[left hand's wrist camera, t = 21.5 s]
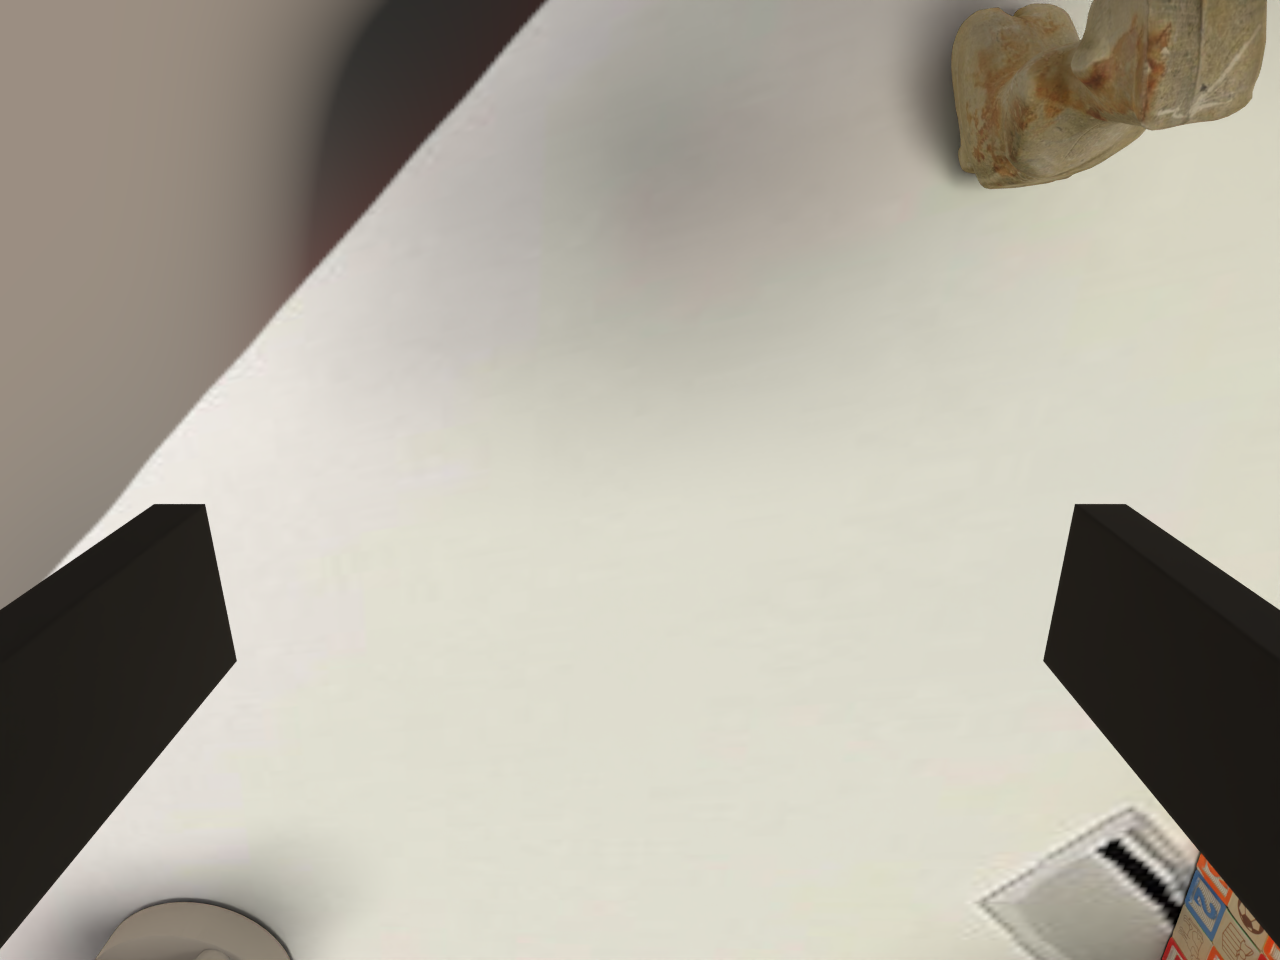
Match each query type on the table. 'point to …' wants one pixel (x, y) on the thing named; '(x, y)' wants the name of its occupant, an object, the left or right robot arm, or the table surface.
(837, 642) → the table surface
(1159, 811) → the table surface
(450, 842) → the table surface
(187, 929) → the bust sculpture
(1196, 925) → the stack of blocks
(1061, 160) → the sculpture
